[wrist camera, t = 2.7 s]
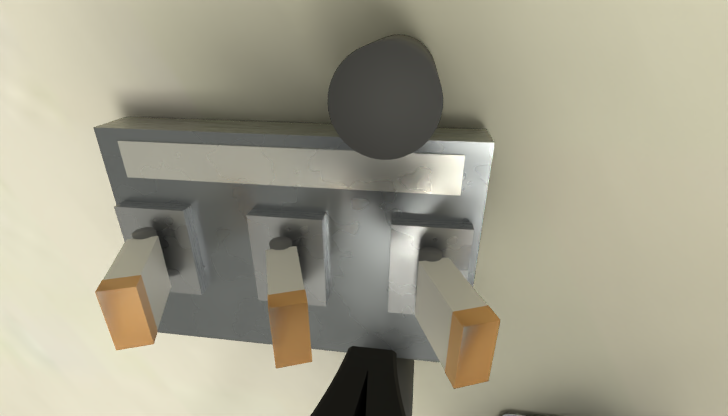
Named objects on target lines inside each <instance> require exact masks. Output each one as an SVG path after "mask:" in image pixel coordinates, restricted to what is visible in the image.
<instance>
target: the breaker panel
mask: <svg viewBox="0 0 728 416" xmlns="http://www.w3.org/2000/svg"><path fill="white" fill-rule="evenodd" d="M94 131H95V134H96V137H97V141H98V144H99V147H100V151H101V154H102V157H103V161H104V164H105V167H106V171H107V174H108V177H109V181H110V184H111V187H112V191H113V194H114V197H115V201H116V204H117V205H116V206H114V208H115V211H116V215H117V218H118V221H119V224H120V228H121V231H122V234H123V238H124V241H126V240H127V239H133V237H132V233H133V232H134V231H135V230H137V229H140V228H144V227H153V228H155V229H156V233H157V236H158V237H159V241H160V245H161V249H162V252H163V256H164V260H165V264H166V268H167V272H168V275H169V279H170V283H171V289H170V292H169V295H168V298H167V301H166V305H165V308H164V311H163V314H162V317H161V321H160V324H159V327H158V332H160V333H170V334H179V335H188V336H198V337H207V338H217V339H226V340H235V341H245V342H254V343H264V344H273V342H272V334H271V327H270V319H269V312H268V296H267V295H268V283H267V263H266V250H269V249H270V246H269V242H270V241H271V240H272V239H273V238H276V237H289V238H290V239H291V240H292V247H293V246H297V252H298V257H299V262H300V268H301V273H302V279H303V284H304V289H305V291H306V297H307V302H308V314H309V327H310V340H311V349H320V350H329V351H339V352H347V351H348V348H350V347H351V346H358V347H368V348H378V349H387V350H394V351H395V352H396V353H397V358H404V359H414V360H423V361H433V362H440V361H439V359H438V357H437V355H436V354H435V352H434V350H433V348H432V346H431V344H430V342H429V341H428V339H427V337H426V335H425V333H424V331H423V330H422V328H421V326H420V324H419V322H418V320H417V319H416V317H415V299H416V286H417V272H418V258H419V250H420V249H422V248H424V247H434V248H437V249H439V250H441V251H442V254H443V255H442V258H447V257H448V258H449V259H450V260H451V261H452V263H453V264H454V265H455V266H456V267H457V269H458V270H459V271H460V272H461V274H462V275H463V276H464V277H465V278H466V280H467V281H468V282H469V283H470V284H471V286H472V287H473V284H474V277H475V271H476V264H477V257H478V251H479V244H480V237H481V231H482V224H483V217H484V211H485V204H486V197H487V191H488V184H489V177H490V171H491V164H492V157H493V151H494V144H495V143H494V141H493V139H492V137H491V136H490V134H489V132H488V131H487V129H467V128H438V127H437V128H436V130H435V132H434V133H433V135H432V136H431V138H430V139H429V140H428V141H427V142H426V143H425V144H424V145H423V146H422V147H421V148H419V149H418V150H417V151H415V152H413V153H412V154H409V155H407V156H405V157H401V158H398V159H392V160H380V159H373V158H369V157H366V156H364V155H361V154H360V153H358V152H356V151H354V150H353V149H351V148H350V147H349V146H348V145H347V144H346V143H345V142H344V141H343V140H342V139H341V138H340V137H339V135H338V134H337V132H336V130H335V128H334V126H333V124H322V123H292V122H263V121H234V120H205V119H176V118H147V117H124V118H121V119H118V120H115V121H112V122H109V123H106V124H103V125H100V126H96V127H94Z"/></svg>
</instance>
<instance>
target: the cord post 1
mask: <svg viewBox="0 0 728 416" xmlns="http://www.w3.org/2000/svg"><path fill="white" fill-rule="evenodd" d="M442 109H443V94H442V88H441V84H440V80H439V77H438V73H437V70H436V66H435V63H434V60H433V57H432V55H431V53H430V51H429V50H428V49H427V47H426V46H425V45H424V44H423V43H421V42H420V41H419V40H417V39H415V38H413V37H410V36H406V35H391V36H388V37H385V38H382V39H380V40H378V41H375V42H373V43H370V44H368V45H366V46H363V47H361V48H359V49H357V50H356V51H354V52H353V53H351V54H350V55H349V56H348V57H347V58H345V59H344V60H343V62H342V63H341V64H340V65H339V67H338V68H337V70H336V71H335V73H334V75H333V78H332V80H331V83H330V86H329V92H328V111H329V115H330V119H331V122H332V124H333V126H334V128H335V130H336V132H337V134H338V135H339V137H340V138H341V139H342V140H343V141H344V142H345V143H346V144H347V145H348V146H349V147H350V148H351V149H353V150H354V151H356V152H358V153H360V154H361V155H364V156H366V157H369V158H373V159H380V160H392V159H398V158H401V157H405V156H407V155H409V154H412V153H413V152H415V151H417V150H418V149H419V148H421V147H422V146H423V145H424V144H425V143H426V142H427V141H428V140H429V139H430V138H431V136H432V135H433V133H434V132H435V130H436V128H437V126H438V124H439V122H440V118H441V115H442Z"/></svg>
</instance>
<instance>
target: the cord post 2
mask: <svg viewBox="0 0 728 416" xmlns="http://www.w3.org/2000/svg"><path fill="white" fill-rule="evenodd" d="M396 361H397V374H398V381H399V387H400V393H401V398H402V402H403V406H404V410H405V415H406V416H412V401H413V374H414V359H404V358H396Z"/></svg>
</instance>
